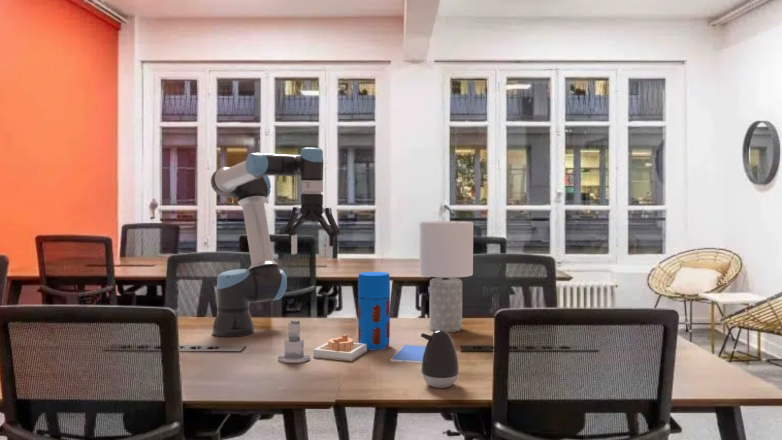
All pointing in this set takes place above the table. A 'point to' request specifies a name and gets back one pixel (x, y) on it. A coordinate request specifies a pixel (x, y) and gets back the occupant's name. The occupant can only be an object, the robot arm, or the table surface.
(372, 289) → the thermos
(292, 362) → the grey stepped cylinder
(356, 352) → the tray
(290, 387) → the table surface
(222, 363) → the table surface
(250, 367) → the table surface
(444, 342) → the pump dispenser
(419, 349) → the tablet computer
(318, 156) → the robot arm
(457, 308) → the lamp
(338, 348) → the ring
